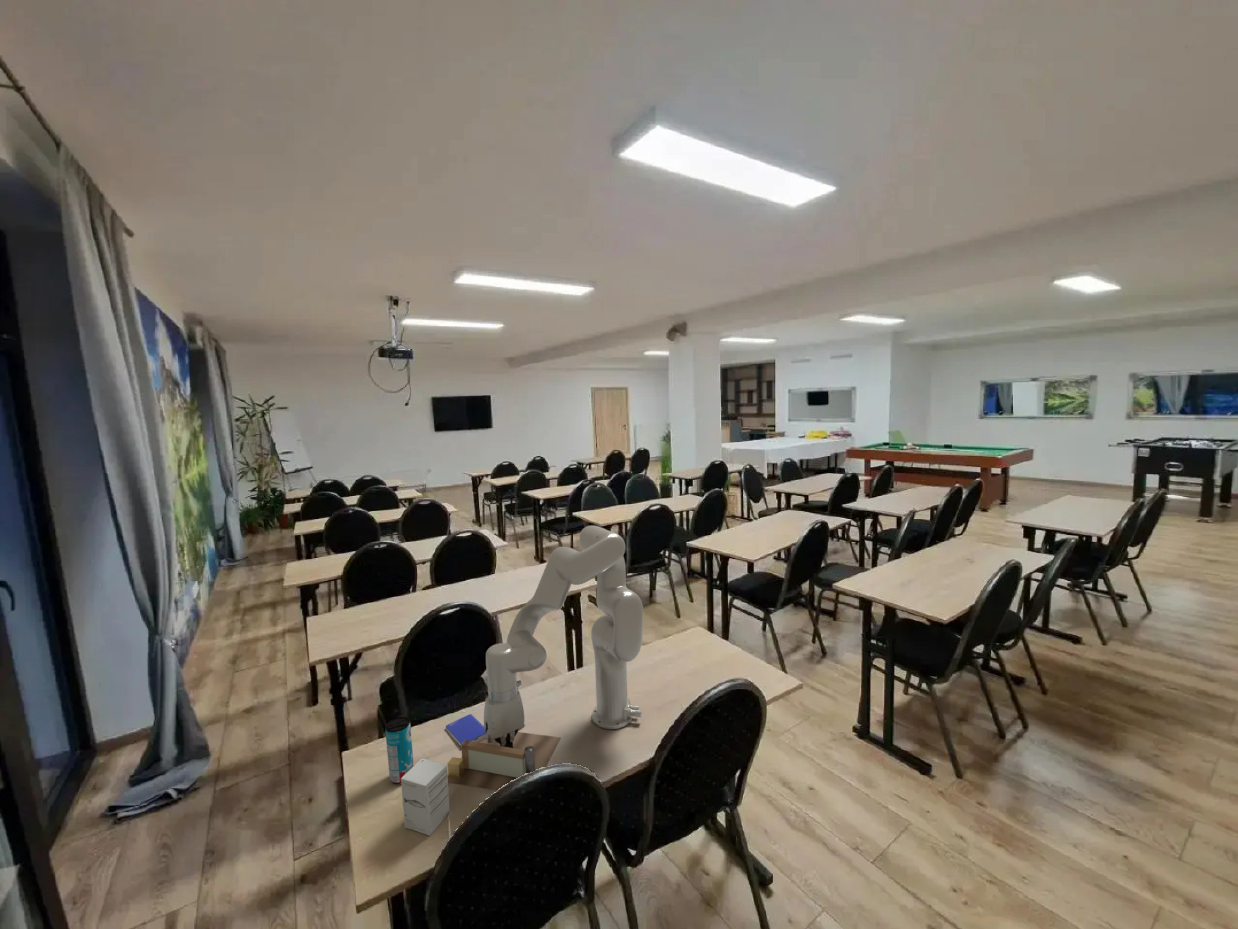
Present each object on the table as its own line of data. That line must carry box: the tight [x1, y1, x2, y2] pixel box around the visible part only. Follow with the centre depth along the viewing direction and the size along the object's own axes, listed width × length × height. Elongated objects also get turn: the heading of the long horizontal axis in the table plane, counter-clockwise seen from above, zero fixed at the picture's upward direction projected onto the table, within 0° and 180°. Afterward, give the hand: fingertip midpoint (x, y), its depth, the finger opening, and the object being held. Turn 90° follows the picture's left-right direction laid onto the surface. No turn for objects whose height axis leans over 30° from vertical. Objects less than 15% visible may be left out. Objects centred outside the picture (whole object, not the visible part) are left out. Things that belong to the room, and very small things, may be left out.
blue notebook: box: [445, 713, 487, 747], centre depth 148 cm, size 2×8×12 cm
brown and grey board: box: [460, 740, 526, 778], centre depth 131 cm, size 18×2×7 cm, turn 75°
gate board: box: [448, 731, 562, 791], centre depth 136 cm, size 24×22×1 cm
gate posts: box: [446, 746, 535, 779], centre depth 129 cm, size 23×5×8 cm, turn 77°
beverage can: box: [384, 716, 415, 785], centre depth 130 cm, size 6×6×15 cm
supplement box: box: [400, 757, 451, 836], centre depth 116 cm, size 7×7×13 cm
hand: (507, 754), depth 136 cm, fingers closed
